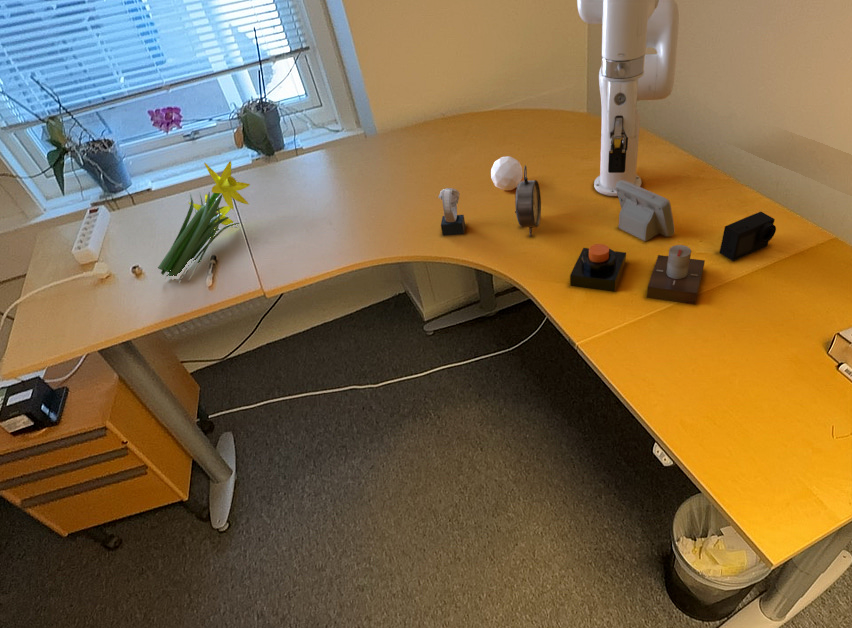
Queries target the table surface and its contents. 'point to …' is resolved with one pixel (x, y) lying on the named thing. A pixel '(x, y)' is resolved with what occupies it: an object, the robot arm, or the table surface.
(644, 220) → the digital clock
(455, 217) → the watch
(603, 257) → the button
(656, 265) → the dial panel
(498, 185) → the white faceted rounded piece
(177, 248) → the daffodil flowers
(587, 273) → the button box
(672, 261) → the dial
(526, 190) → the alarm clock
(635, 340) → the table surface
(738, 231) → the digital camera
